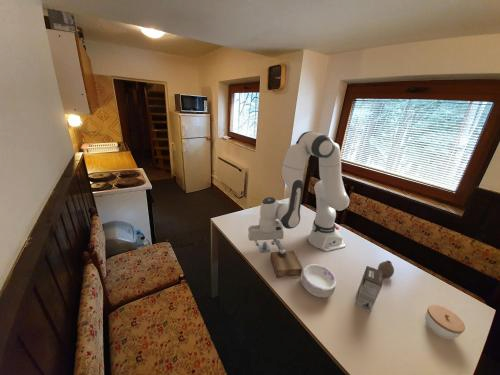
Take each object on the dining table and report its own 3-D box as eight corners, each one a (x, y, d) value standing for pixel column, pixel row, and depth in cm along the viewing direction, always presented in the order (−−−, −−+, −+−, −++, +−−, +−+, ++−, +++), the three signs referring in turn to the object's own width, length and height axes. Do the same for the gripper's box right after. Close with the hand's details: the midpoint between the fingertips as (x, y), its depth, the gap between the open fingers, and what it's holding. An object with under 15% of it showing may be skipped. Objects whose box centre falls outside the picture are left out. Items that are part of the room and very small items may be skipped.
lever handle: (285, 255, 108) (286, 250, 106) (280, 256, 107) (281, 251, 106) (279, 243, 116) (279, 239, 115) (274, 244, 115) (274, 240, 114)
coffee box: (357, 290, 96) (366, 264, 90) (372, 297, 93) (383, 271, 87) (354, 305, 89) (364, 278, 83) (371, 313, 86) (382, 285, 80)
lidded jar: (458, 333, 80) (470, 318, 76) (451, 351, 74) (463, 335, 70) (425, 312, 88) (434, 297, 84) (416, 326, 82) (426, 310, 78)
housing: (292, 257, 114) (293, 250, 112) (300, 275, 102) (302, 268, 100) (270, 259, 112) (271, 251, 110) (276, 277, 100) (277, 270, 98)
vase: (378, 267, 110) (383, 255, 107) (392, 275, 106) (398, 262, 103) (374, 274, 106) (379, 261, 102) (389, 282, 101) (395, 269, 98)
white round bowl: (338, 288, 97) (342, 276, 93) (324, 309, 86) (327, 296, 83) (310, 270, 106) (312, 258, 103) (294, 286, 96) (296, 274, 93)
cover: (268, 245, 123) (268, 240, 121) (270, 252, 118) (271, 246, 116) (258, 246, 122) (259, 240, 120) (260, 253, 117) (260, 247, 115)
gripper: (249, 229, 109) (248, 249, 114) (285, 227, 112) (282, 247, 117) (247, 222, 114) (246, 242, 120) (282, 221, 117) (279, 240, 123)
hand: (264, 244), depth 118 cm, fingers open, 8 cm apart
